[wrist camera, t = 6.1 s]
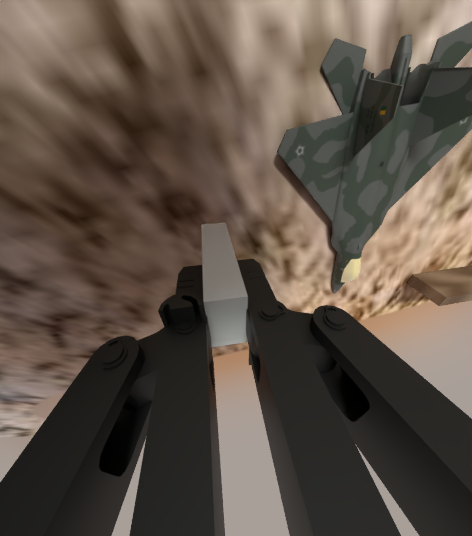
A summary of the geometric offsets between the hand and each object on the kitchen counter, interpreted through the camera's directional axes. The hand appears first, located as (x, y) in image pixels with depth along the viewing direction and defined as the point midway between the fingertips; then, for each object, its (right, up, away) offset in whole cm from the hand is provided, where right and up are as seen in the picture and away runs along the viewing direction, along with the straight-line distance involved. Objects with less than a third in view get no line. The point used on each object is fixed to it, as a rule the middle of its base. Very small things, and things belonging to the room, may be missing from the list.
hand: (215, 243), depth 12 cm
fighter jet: (+11, +3, +3) cm, 11 cm away
